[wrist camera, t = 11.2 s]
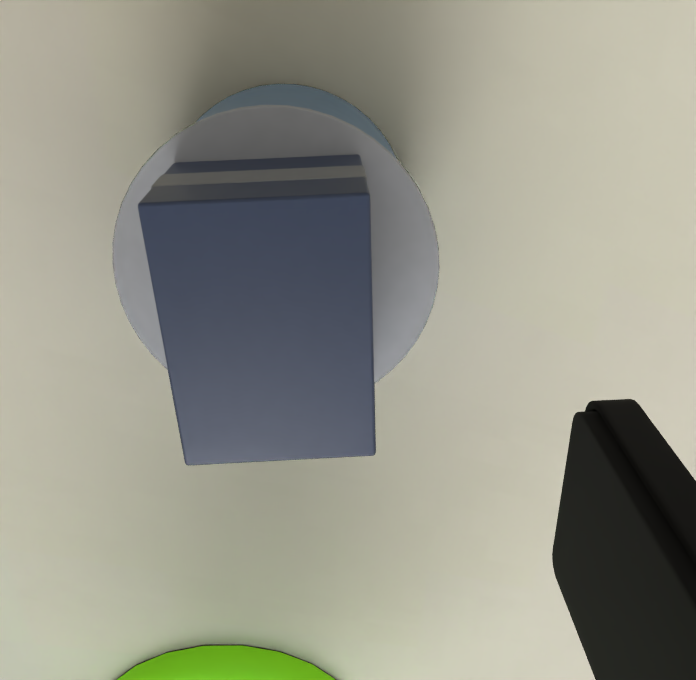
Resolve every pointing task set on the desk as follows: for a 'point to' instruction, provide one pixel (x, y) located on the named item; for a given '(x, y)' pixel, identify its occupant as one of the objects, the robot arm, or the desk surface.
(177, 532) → the desk surface
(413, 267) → the yogurt
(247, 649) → the wineglass
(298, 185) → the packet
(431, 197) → the desk surface
